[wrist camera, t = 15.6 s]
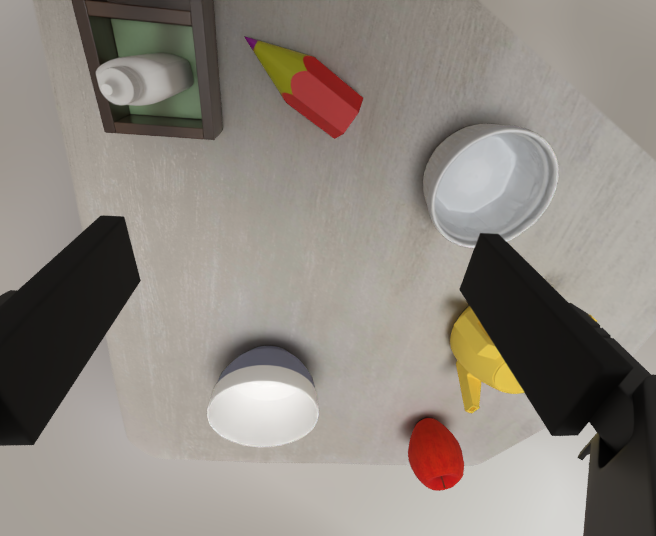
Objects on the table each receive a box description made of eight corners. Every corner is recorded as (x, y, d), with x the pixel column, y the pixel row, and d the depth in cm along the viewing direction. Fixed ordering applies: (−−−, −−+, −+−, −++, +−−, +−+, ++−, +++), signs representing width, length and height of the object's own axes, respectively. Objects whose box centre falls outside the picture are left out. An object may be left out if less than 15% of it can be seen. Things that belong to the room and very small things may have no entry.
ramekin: (428, 237, 47) (447, 266, 41) (399, 146, 40) (416, 165, 34) (528, 197, 44) (563, 221, 39) (516, 92, 37) (555, 102, 32)
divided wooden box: (203, -128, 27) (187, -154, 23) (223, 129, 38) (214, 140, 34) (65, -147, 26) (25, -179, 22) (125, 122, 36) (104, 132, 33)
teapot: (537, 350, 61) (583, 411, 51) (441, 367, 62) (469, 431, 52) (553, 272, 51) (614, 329, 41) (441, 293, 52) (474, 354, 42)
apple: (396, 414, 68) (412, 480, 58) (446, 402, 67) (472, 467, 57) (404, 440, 74) (421, 505, 64) (450, 430, 73) (475, 494, 63)
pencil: (259, 11, 32) (254, 7, 29) (360, 95, 37) (366, 101, 33) (234, 60, 34) (227, 62, 31) (333, 134, 39) (336, 143, 35)
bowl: (231, 319, 52) (218, 370, 44) (330, 341, 56) (335, 392, 48) (211, 386, 60) (197, 439, 52) (299, 401, 64) (299, 453, 56)
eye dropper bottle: (137, 33, 32) (63, 32, 22) (199, 65, 33) (157, 78, 23) (129, 81, 34) (57, 101, 24) (187, 109, 35) (143, 138, 26)
